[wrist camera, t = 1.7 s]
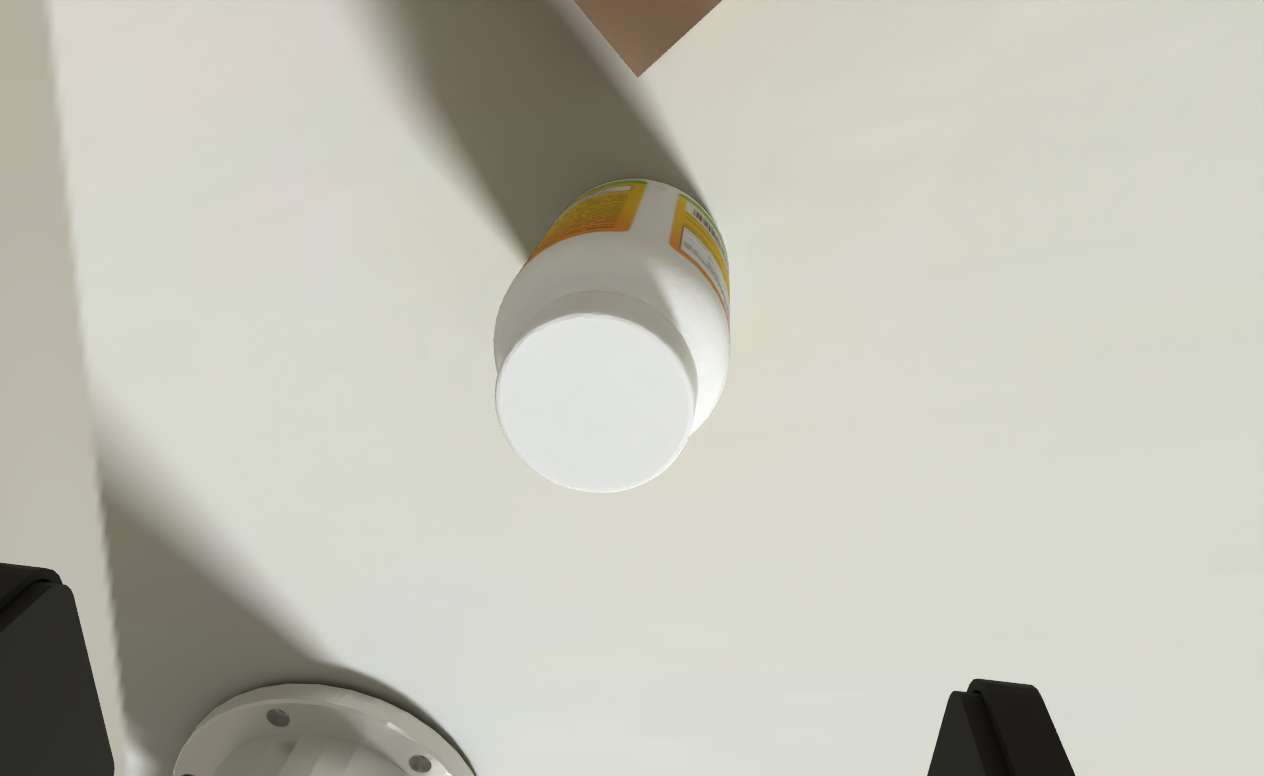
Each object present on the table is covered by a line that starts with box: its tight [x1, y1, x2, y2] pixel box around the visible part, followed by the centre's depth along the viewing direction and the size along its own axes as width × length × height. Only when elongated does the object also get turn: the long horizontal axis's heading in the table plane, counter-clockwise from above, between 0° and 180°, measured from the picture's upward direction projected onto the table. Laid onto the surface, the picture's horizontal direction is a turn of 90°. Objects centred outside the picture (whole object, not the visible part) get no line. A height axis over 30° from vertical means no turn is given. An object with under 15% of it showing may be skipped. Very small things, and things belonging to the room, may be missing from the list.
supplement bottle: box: [494, 179, 730, 493], centre depth 22 cm, size 5×5×10 cm
